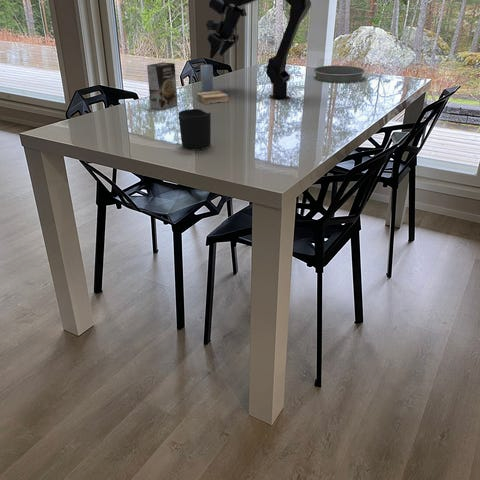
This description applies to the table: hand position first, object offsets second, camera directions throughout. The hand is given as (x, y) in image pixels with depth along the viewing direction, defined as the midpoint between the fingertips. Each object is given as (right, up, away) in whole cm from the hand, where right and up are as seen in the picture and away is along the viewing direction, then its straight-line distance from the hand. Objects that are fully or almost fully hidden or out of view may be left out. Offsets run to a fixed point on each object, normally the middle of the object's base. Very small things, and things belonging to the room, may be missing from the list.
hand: (215, 56), depth 205 cm
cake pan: (+58, +1, +31) cm, 66 cm away
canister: (-4, -13, +8) cm, 15 cm away
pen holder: (-3, -49, -58) cm, 76 cm away
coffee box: (-19, -26, -15) cm, 36 cm away
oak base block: (-1, -20, -7) cm, 21 cm away
